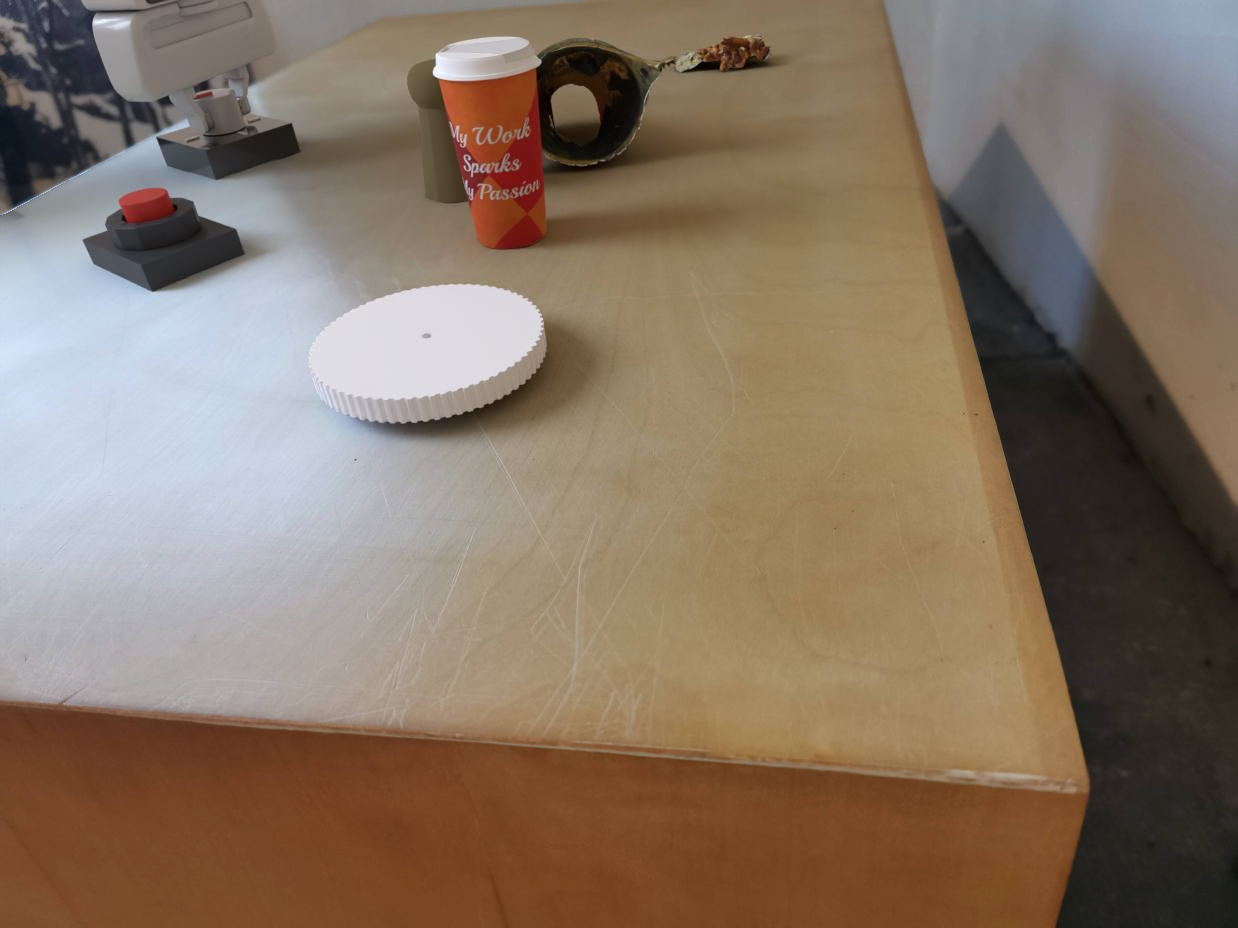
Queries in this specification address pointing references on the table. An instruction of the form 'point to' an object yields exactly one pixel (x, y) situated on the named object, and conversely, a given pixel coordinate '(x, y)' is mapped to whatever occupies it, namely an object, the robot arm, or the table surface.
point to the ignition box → (163, 246)
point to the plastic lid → (428, 353)
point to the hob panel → (229, 147)
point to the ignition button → (146, 205)
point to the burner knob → (221, 110)
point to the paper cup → (496, 136)
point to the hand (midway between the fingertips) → (223, 123)
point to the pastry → (727, 53)
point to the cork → (435, 137)
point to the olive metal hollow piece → (595, 95)
